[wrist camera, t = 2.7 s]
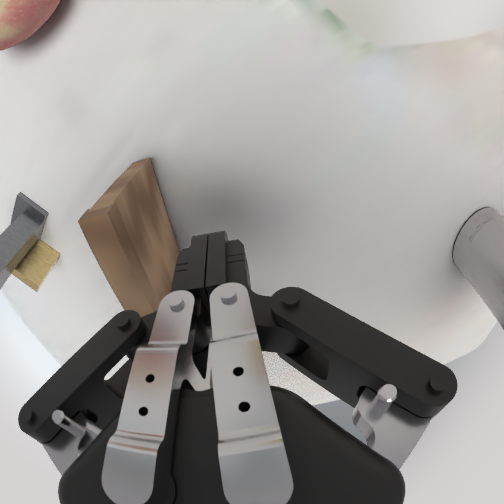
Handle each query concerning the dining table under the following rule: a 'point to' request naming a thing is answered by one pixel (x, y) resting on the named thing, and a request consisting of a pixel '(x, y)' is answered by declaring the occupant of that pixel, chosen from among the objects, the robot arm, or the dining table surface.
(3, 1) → the apple
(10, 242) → the toy blocks
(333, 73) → the dining table surface
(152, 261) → the gate
